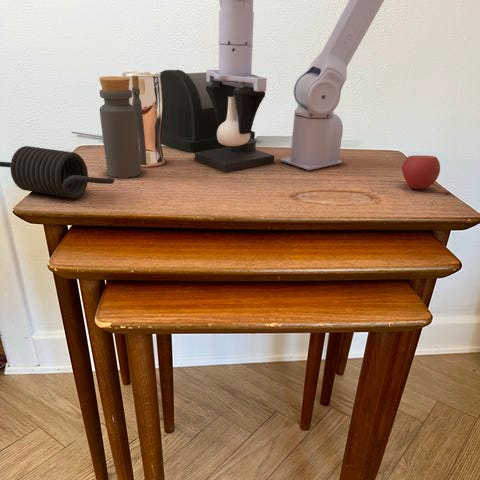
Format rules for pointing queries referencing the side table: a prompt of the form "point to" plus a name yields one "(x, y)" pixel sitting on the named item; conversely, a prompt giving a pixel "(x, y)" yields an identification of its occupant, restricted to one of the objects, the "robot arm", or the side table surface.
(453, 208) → the side table surface
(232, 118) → the garlic bulb
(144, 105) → the beer glass
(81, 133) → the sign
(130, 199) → the side table surface
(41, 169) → the coil
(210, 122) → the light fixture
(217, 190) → the side table surface
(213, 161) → the scale
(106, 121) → the bottle
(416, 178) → the fruit
